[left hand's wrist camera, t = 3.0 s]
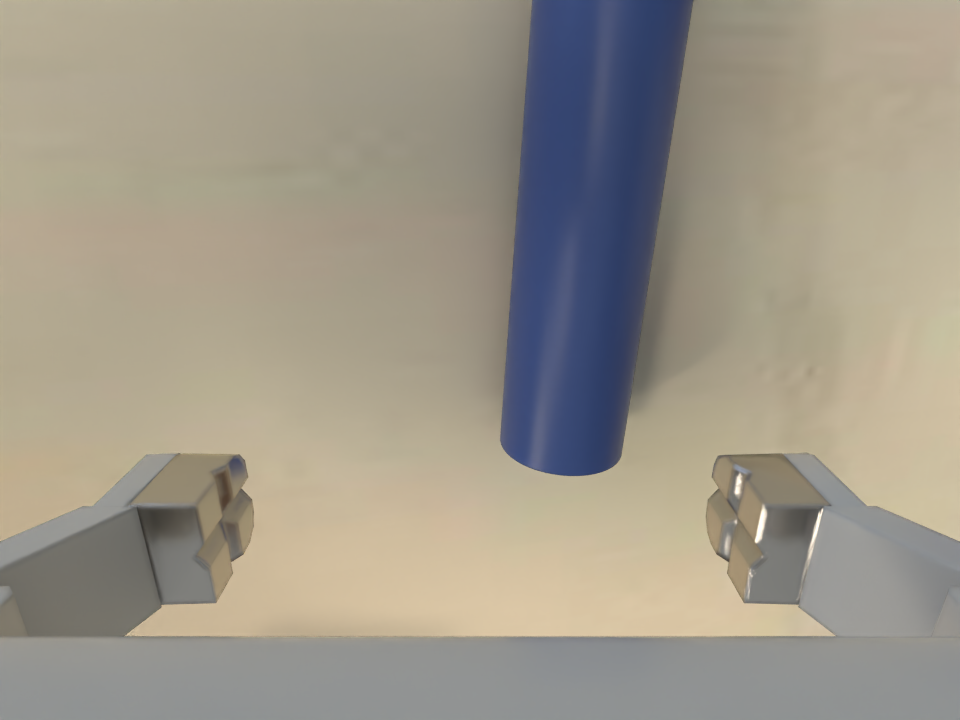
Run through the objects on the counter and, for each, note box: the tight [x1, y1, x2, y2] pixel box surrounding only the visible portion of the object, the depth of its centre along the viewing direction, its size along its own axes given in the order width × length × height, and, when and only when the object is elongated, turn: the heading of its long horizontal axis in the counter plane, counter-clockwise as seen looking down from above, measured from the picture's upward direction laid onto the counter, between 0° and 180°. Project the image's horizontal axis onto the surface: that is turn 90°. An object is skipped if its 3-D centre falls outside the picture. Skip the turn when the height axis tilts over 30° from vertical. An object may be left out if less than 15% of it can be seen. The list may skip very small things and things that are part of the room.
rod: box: [500, 0, 693, 476], centre depth 25 cm, size 27×6×6 cm, turn 177°
